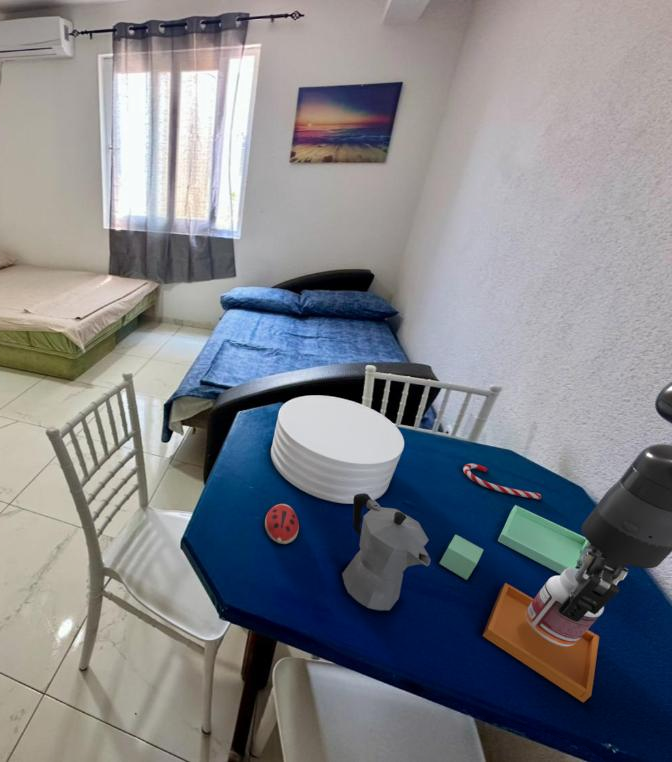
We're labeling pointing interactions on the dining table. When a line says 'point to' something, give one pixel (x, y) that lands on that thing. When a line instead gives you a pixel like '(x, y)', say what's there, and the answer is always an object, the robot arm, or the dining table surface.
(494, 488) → the candy cane
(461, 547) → the mint block
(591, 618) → the pill bottle
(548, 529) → the mint tray
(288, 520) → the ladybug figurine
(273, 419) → the dining table surface
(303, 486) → the plate stack
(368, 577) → the coffeepot
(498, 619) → the amber tray
